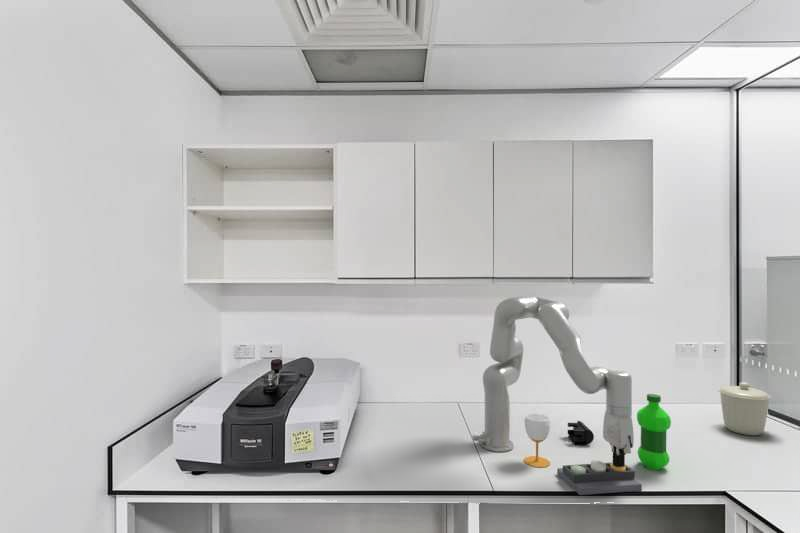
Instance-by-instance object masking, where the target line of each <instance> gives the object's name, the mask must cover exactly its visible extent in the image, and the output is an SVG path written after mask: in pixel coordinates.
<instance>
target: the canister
mask: <svg viewBox="0 0 800 533" xmlns="http://www.w3.org/2000/svg"><path fill="white" fill-rule="evenodd" d="M738 384H739V385H726V386H723V387H720V388H718V392H719V393H720V403H721V412H722V418H723V423H724V425H725V427H726V428H727V429H728V430H729V431H730V432H734V433H736V434H739V435H740V434H741V435H746V436H760V435H762V434H763V433H764V431H765V427H766V423H767V416H768V410H769V403H770V400H771V399H772V396H771V395H770V394H768V393H767V392H765V391H763V390H760V389H759V388H758V389H757V388H752V387H750V383H748V382H745V381H741V382H739V383H738Z"/></svg>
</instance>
